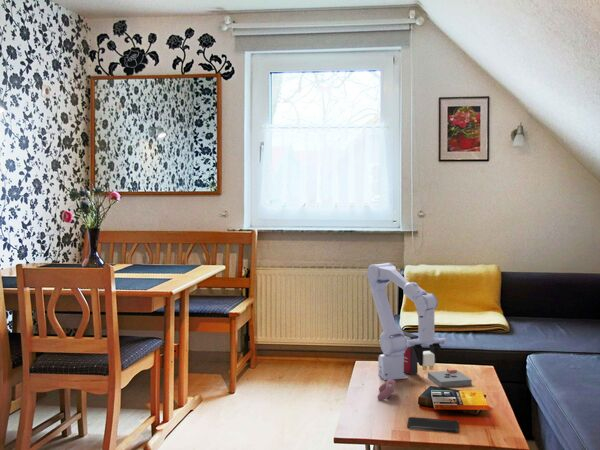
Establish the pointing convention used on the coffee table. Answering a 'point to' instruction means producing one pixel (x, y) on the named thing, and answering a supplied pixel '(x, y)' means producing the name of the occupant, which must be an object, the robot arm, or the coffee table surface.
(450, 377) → the socket
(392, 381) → the pink lumpy figure
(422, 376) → the coffee table surface
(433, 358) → the white rectangular box
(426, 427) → the phone
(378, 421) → the coffee table surface
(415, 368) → the dark grey red box
